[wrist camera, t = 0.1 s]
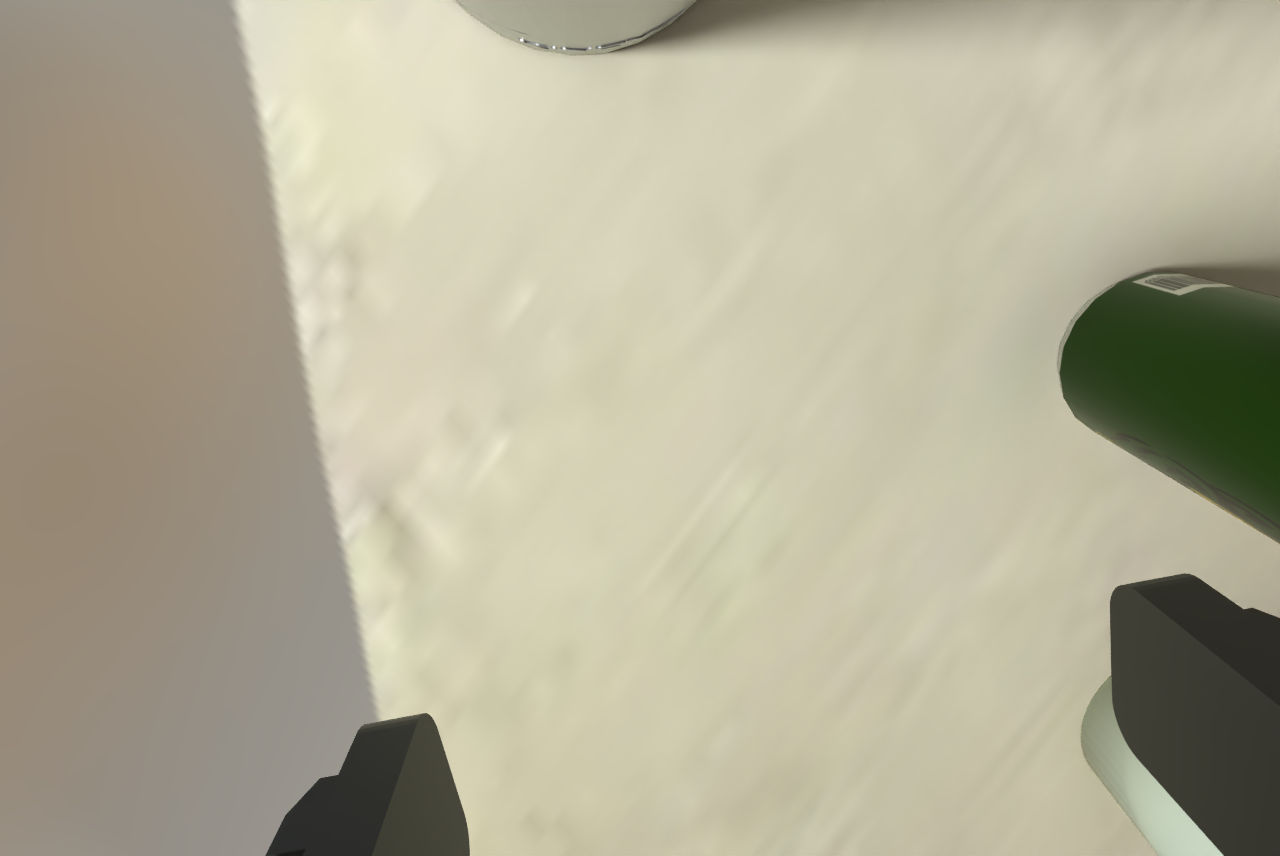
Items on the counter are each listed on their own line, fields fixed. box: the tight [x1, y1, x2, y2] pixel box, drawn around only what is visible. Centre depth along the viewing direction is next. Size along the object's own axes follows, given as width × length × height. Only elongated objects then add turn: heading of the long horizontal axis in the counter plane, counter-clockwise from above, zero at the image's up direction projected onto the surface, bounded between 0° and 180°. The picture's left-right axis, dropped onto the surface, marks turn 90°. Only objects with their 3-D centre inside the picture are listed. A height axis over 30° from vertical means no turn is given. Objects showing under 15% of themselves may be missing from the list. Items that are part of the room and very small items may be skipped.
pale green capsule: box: [1081, 676, 1224, 856], centre depth 28 cm, size 7×7×8 cm
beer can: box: [1057, 272, 1280, 544], centre depth 21 cm, size 5×5×12 cm
